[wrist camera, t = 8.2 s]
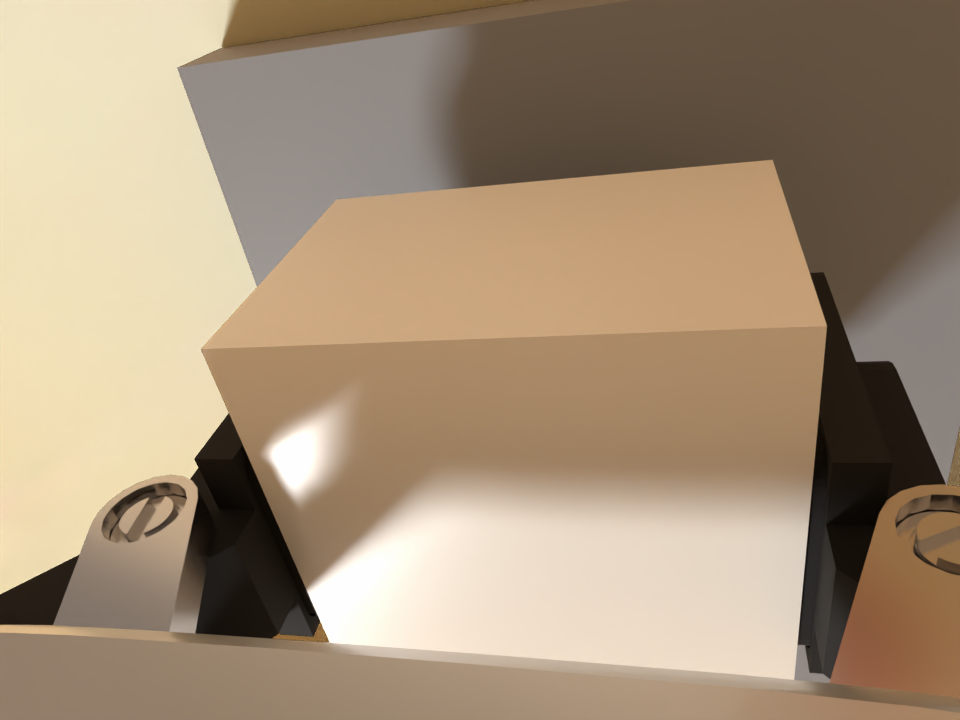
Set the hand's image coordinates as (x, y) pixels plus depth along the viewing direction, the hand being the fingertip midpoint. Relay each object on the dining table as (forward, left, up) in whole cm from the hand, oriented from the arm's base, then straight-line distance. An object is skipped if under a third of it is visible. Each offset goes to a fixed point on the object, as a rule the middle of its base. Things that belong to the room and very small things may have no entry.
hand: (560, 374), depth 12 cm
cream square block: (0, 0, 0) cm, 0 cm away
